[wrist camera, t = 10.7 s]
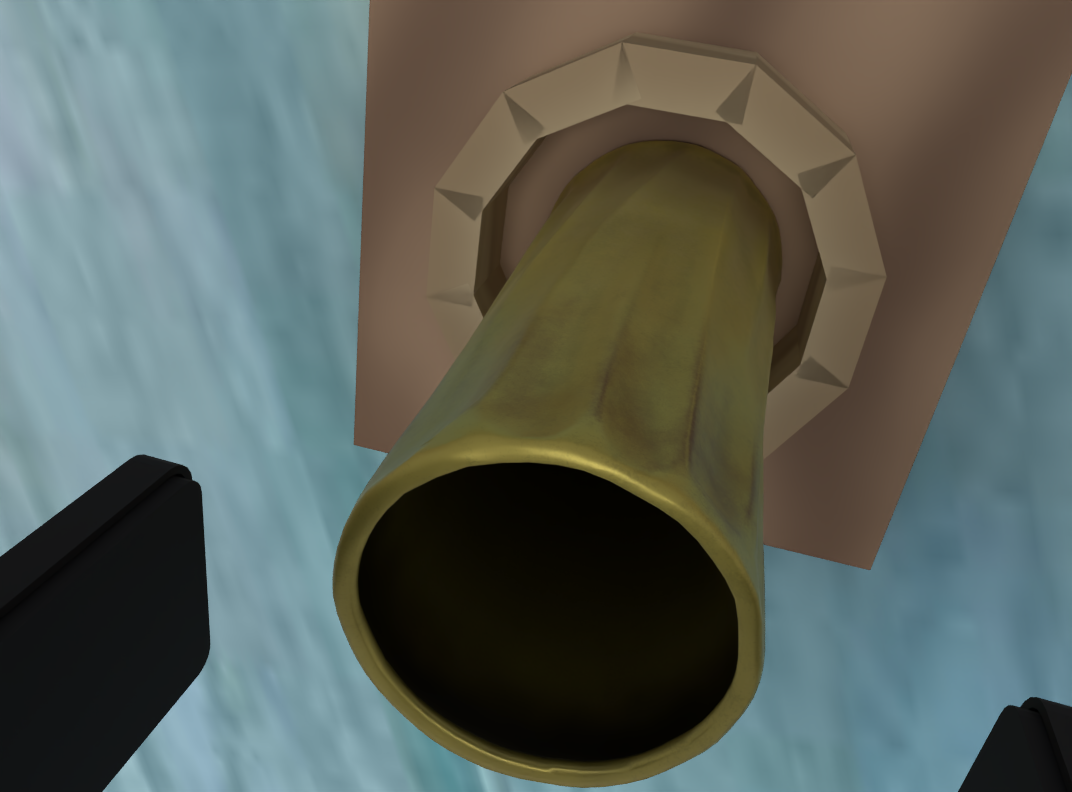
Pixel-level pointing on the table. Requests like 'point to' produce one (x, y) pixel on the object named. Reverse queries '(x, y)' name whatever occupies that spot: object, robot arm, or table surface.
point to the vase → (586, 490)
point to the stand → (768, 160)
